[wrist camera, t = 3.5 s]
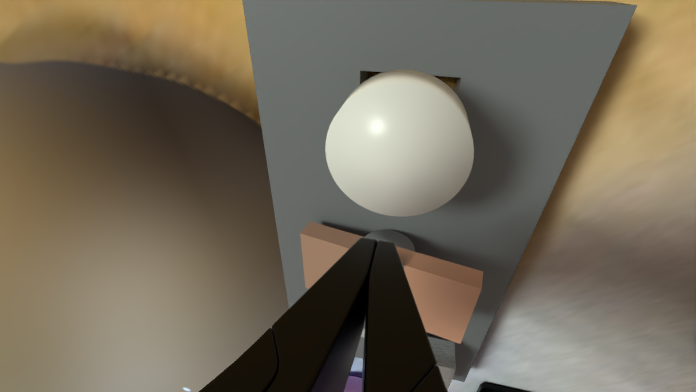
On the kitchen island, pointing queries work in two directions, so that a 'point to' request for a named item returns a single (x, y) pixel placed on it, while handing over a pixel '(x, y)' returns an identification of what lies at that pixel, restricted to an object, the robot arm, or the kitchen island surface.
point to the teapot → (353, 384)
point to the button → (400, 144)
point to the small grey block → (444, 358)
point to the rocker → (421, 271)
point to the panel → (472, 89)
